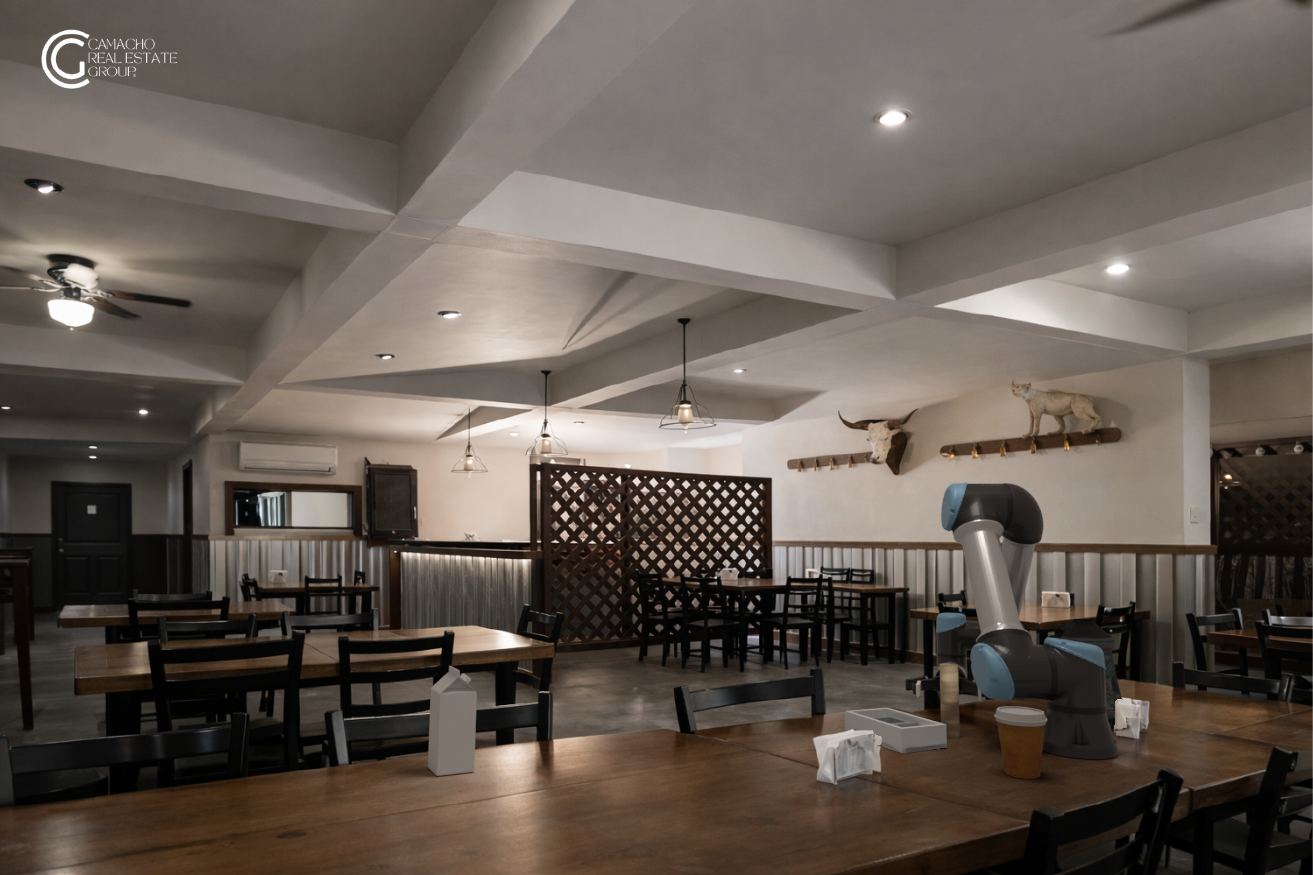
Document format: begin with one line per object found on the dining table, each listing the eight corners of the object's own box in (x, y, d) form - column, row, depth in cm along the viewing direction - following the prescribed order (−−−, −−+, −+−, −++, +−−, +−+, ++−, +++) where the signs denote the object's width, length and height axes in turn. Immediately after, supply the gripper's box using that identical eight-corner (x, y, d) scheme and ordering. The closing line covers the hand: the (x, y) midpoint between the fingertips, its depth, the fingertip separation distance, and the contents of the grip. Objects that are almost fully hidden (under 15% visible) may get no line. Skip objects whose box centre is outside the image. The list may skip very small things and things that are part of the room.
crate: (946, 748, 194) (946, 724, 195) (901, 753, 189) (901, 728, 190) (887, 729, 212) (887, 707, 213) (845, 733, 208) (844, 710, 208)
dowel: (963, 737, 205) (961, 665, 207) (949, 738, 203) (948, 666, 205) (951, 733, 209) (949, 663, 210) (937, 735, 207) (936, 663, 209)
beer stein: (1126, 734, 211) (1122, 625, 213) (1037, 724, 221) (1034, 620, 223) (1130, 721, 225) (1126, 619, 228) (1046, 712, 235) (1043, 615, 237)
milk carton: (436, 777, 167) (440, 671, 169) (427, 767, 173) (431, 666, 175) (474, 772, 170) (477, 669, 172) (464, 763, 177) (467, 664, 178)
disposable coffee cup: (1057, 781, 169) (1055, 715, 170) (1006, 780, 169) (1004, 714, 170) (1037, 768, 178) (1035, 706, 180) (988, 767, 179) (987, 705, 180)
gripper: (1004, 698, 224) (1006, 713, 204) (900, 691, 232) (892, 705, 212) (1003, 667, 225) (1005, 679, 205) (899, 661, 233) (892, 672, 213)
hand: (948, 692), depth 208 cm, fingers open, 13 cm apart
